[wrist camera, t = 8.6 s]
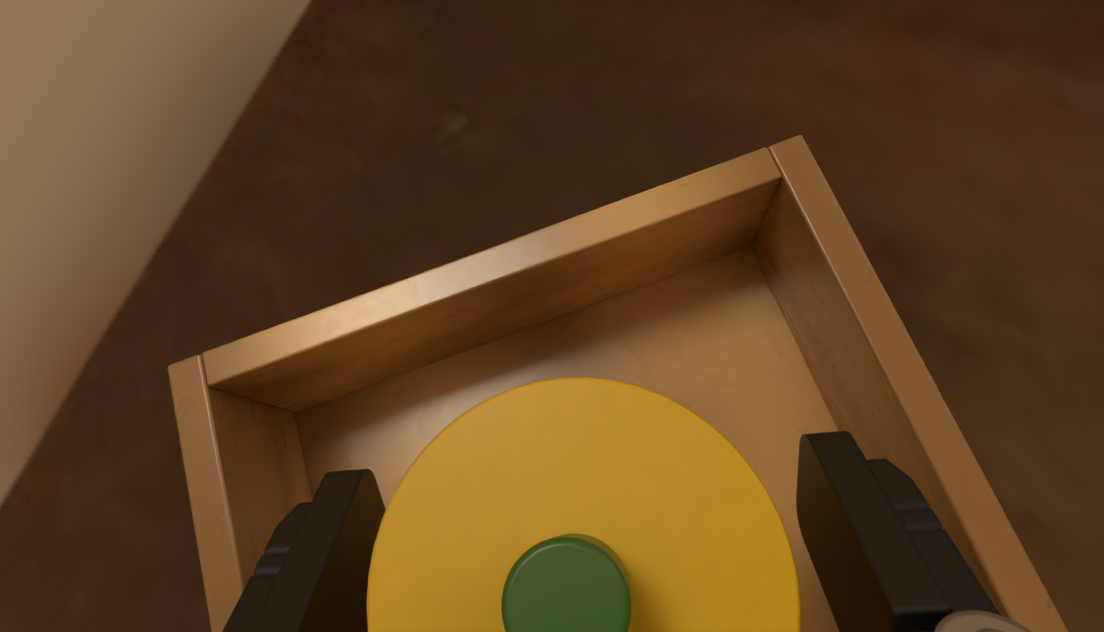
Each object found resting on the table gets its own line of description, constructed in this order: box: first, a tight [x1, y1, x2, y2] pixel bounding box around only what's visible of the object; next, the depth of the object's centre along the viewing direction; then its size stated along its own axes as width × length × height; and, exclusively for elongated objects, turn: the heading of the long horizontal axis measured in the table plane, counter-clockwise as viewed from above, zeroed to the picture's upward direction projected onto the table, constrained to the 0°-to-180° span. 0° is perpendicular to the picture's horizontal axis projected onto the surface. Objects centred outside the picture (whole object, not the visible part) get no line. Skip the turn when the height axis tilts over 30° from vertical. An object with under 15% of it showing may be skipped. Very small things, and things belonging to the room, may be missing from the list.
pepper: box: [366, 377, 801, 632], centre depth 12 cm, size 6×6×10 cm
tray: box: [168, 135, 1068, 632], centre depth 15 cm, size 15×14×5 cm
